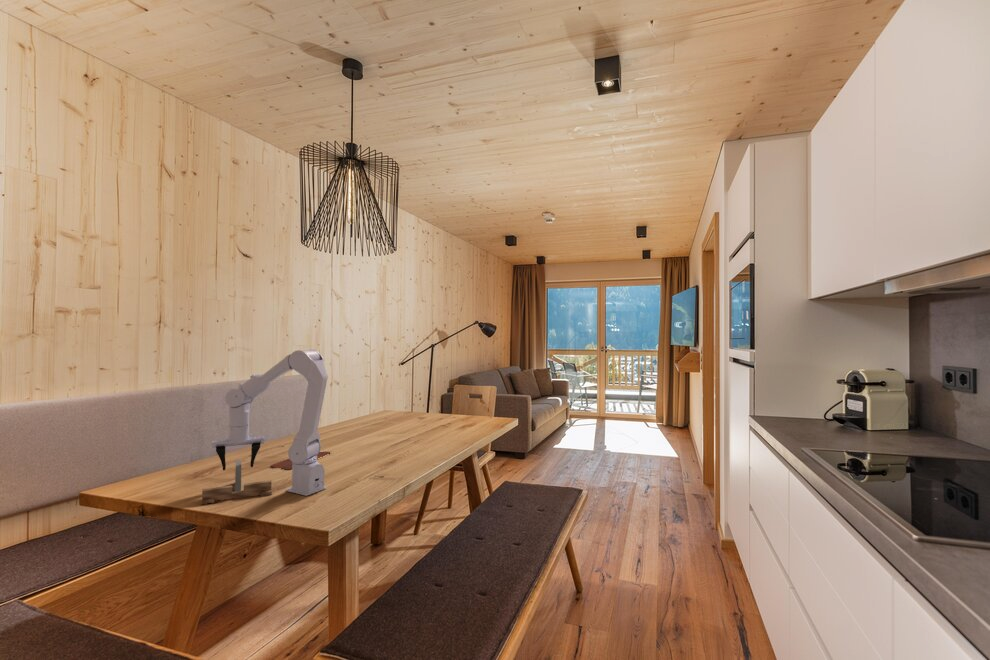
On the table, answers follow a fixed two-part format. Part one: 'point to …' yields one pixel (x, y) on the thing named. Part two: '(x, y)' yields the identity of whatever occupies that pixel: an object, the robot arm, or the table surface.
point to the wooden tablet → (288, 463)
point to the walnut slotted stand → (226, 491)
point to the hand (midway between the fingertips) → (238, 467)
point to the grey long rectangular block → (238, 476)
